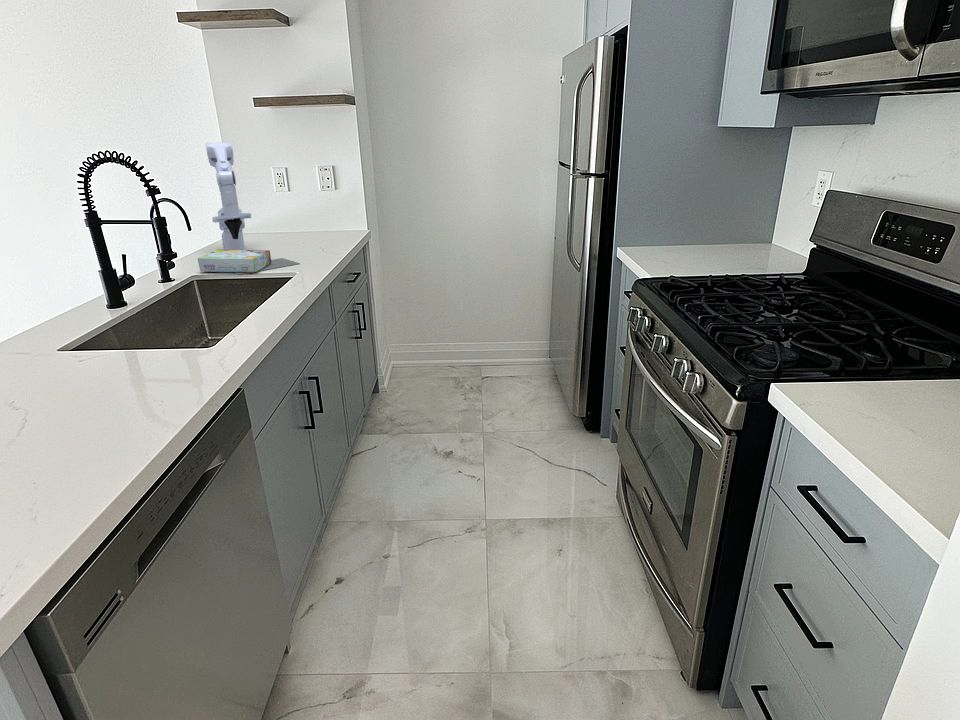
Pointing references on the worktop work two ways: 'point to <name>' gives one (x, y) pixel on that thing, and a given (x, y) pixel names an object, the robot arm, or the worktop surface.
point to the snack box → (234, 260)
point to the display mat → (274, 265)
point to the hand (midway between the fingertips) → (235, 238)
